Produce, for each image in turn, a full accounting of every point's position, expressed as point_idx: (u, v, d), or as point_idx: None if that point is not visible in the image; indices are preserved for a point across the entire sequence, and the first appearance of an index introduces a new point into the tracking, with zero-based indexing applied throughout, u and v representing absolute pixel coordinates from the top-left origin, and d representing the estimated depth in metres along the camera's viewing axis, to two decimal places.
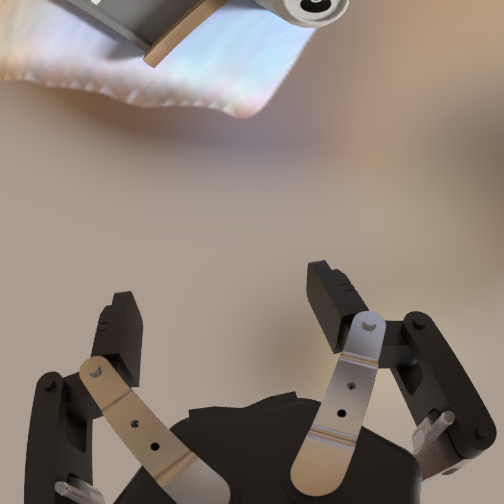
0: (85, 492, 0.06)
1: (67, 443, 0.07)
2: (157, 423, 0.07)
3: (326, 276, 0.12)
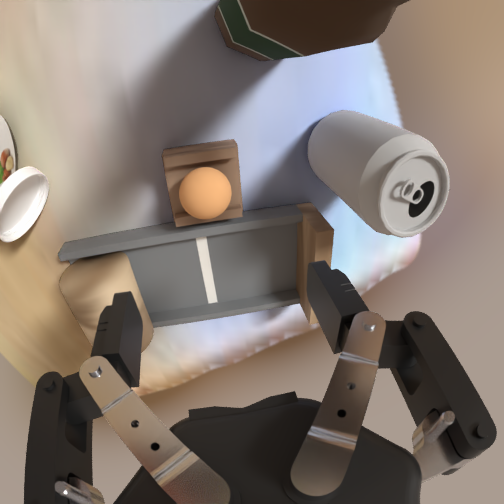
0: (85, 492, 0.06)
1: (67, 443, 0.07)
2: (157, 423, 0.07)
3: (326, 276, 0.12)
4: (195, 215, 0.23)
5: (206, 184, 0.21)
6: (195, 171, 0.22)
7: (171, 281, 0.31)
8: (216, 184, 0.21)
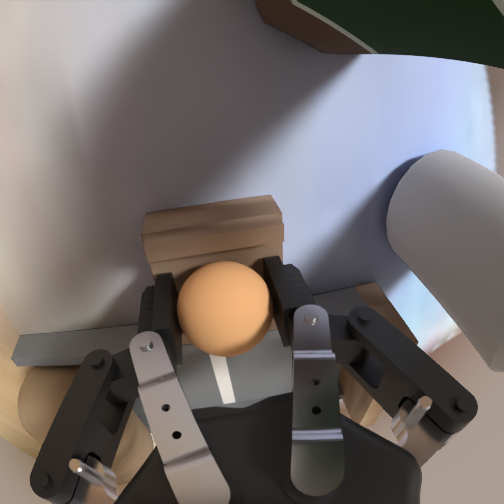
0: (99, 474, 0.06)
1: (98, 423, 0.08)
2: (187, 413, 0.07)
3: (276, 270, 0.13)
4: (209, 353, 0.12)
5: (230, 311, 0.11)
6: (206, 277, 0.12)
7: None
8: (250, 308, 0.11)
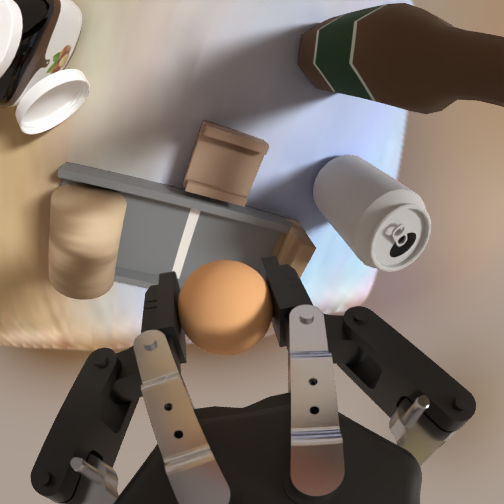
0: (100, 473, 0.06)
1: (101, 422, 0.08)
2: (189, 413, 0.07)
3: (273, 270, 0.13)
4: (209, 351, 0.12)
5: (230, 310, 0.11)
6: (207, 275, 0.12)
7: (148, 241, 0.31)
8: (250, 307, 0.11)
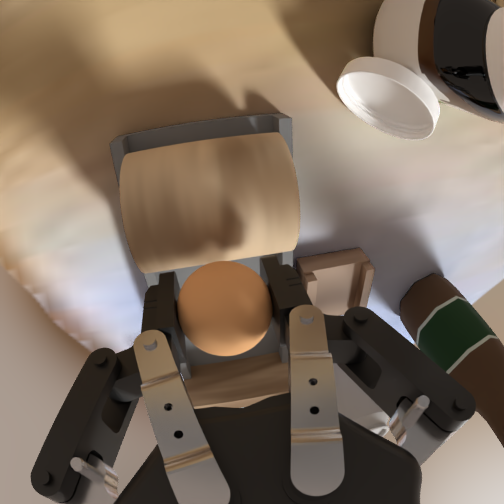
0: (100, 473, 0.06)
1: (100, 422, 0.08)
2: (190, 413, 0.07)
3: (273, 270, 0.13)
4: (208, 352, 0.12)
5: (229, 311, 0.11)
6: (206, 276, 0.12)
7: None
8: (249, 308, 0.11)
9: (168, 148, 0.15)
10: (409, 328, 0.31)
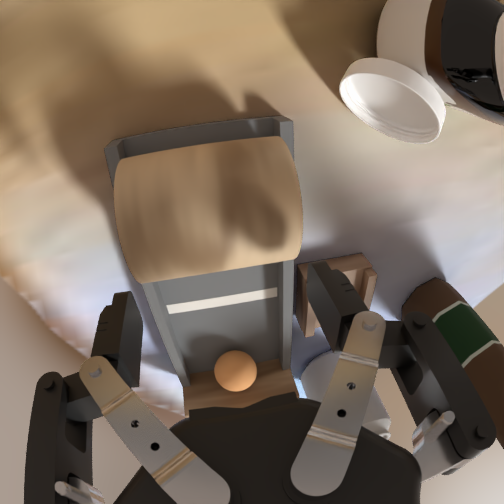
0: (85, 492, 0.06)
1: (67, 443, 0.07)
2: (157, 423, 0.07)
3: (326, 276, 0.12)
4: None
5: None
6: None
7: None
8: None
9: (164, 153, 0.14)
10: None
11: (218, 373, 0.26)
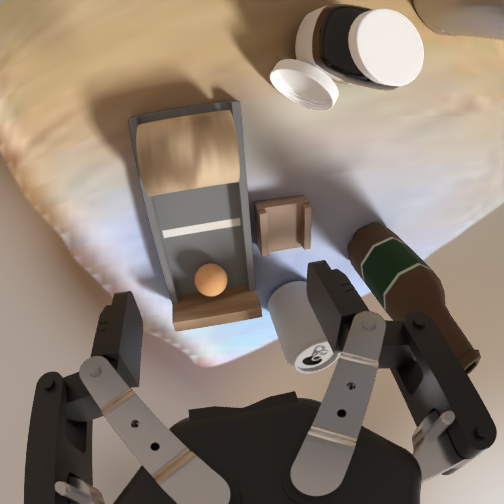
0: (85, 492, 0.06)
1: (67, 443, 0.07)
2: (157, 423, 0.07)
3: (326, 276, 0.12)
4: None
5: None
6: (209, 294, 0.36)
7: (189, 199, 0.34)
8: None
9: (164, 120, 0.25)
10: (356, 267, 0.41)
11: (196, 274, 0.37)
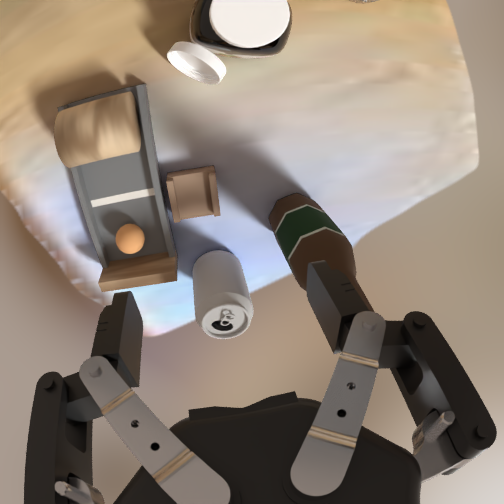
0: (85, 492, 0.06)
1: (67, 443, 0.07)
2: (157, 423, 0.07)
3: (326, 276, 0.12)
4: None
5: (132, 252, 0.39)
6: (124, 246, 0.37)
7: (110, 171, 0.36)
8: (137, 250, 0.39)
9: (79, 105, 0.27)
10: (276, 237, 0.43)
11: (117, 231, 0.39)
